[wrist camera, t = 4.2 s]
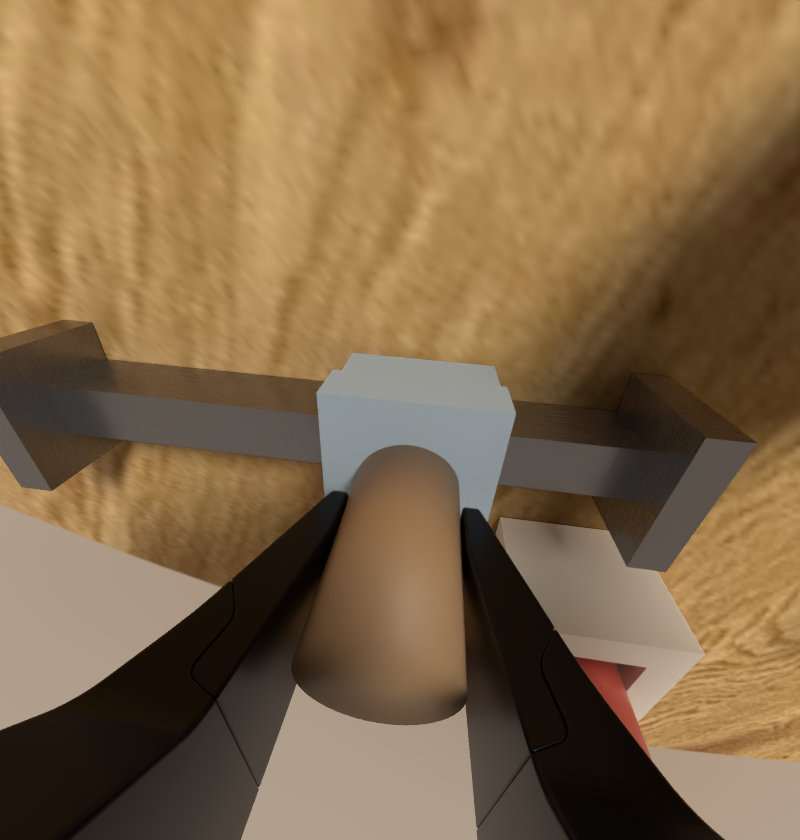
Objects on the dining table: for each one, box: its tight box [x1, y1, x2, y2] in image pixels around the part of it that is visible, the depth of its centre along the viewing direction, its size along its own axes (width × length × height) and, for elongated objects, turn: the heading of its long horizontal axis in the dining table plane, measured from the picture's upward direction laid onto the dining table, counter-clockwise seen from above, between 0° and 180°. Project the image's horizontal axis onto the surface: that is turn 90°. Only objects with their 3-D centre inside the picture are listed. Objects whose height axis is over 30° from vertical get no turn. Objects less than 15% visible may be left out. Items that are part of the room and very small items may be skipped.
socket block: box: [495, 517, 705, 722], centre depth 15 cm, size 6×6×5 cm
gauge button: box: [575, 657, 651, 759], centre depth 13 cm, size 3×3×4 cm
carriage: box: [291, 353, 516, 725], centre depth 10 cm, size 5×6×9 cm
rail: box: [0, 320, 758, 572], centre depth 12 cm, size 22×5×4 cm, turn 87°
